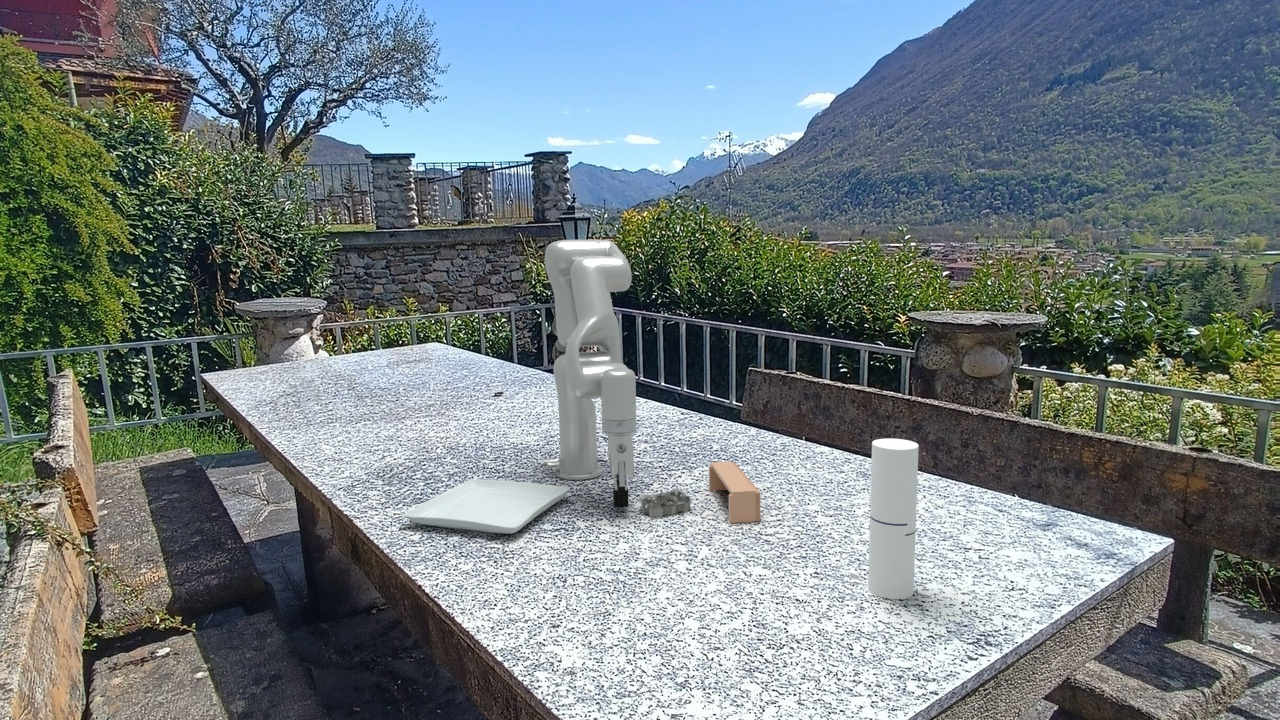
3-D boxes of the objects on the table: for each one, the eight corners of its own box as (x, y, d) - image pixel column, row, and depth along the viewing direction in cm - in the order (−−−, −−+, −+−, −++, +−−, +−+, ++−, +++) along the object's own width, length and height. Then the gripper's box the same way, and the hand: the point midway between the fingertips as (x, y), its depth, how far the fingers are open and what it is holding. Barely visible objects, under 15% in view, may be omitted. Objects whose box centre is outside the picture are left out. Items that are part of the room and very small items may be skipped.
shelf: (730, 523, 154) (729, 492, 153) (708, 490, 176) (708, 462, 175) (760, 521, 155) (760, 490, 154) (735, 488, 177) (735, 461, 176)
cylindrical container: (861, 581, 126) (865, 439, 122) (901, 579, 126) (906, 437, 123) (878, 600, 119) (882, 450, 115) (921, 598, 119) (926, 448, 116)
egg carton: (652, 521, 157) (651, 502, 157) (637, 510, 164) (636, 492, 163) (695, 512, 162) (695, 494, 161) (678, 502, 169) (678, 485, 168)
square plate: (573, 501, 171) (572, 485, 171) (516, 545, 146) (515, 526, 145) (471, 490, 180) (471, 475, 179) (401, 530, 154) (400, 513, 154)
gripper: (639, 432, 153) (641, 517, 156) (633, 417, 168) (634, 494, 170) (603, 434, 152) (606, 519, 155) (600, 418, 167) (602, 496, 170)
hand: (621, 506), depth 163 cm, fingers closed
